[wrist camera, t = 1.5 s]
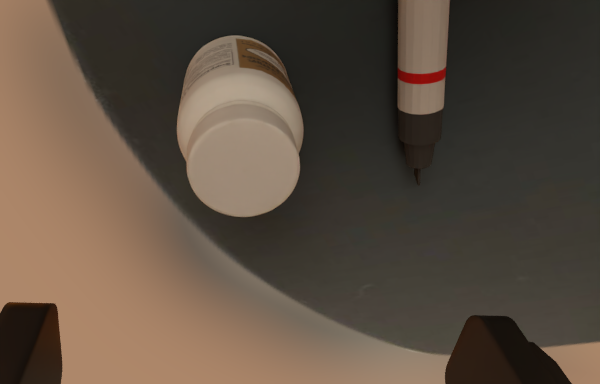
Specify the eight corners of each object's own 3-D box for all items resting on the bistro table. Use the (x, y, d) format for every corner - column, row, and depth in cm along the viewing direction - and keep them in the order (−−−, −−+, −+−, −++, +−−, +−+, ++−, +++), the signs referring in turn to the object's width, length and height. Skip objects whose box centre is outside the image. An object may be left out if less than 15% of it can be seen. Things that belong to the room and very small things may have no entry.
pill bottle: (306, 97, 23) (341, 185, 16) (225, 148, 23) (227, 252, 17) (250, 11, 20) (265, 72, 14) (163, 70, 21) (137, 155, 15)
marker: (392, -214, 17) (410, -224, 16) (448, -220, 17) (473, -231, 16) (392, 174, 25) (404, 196, 24) (430, 169, 25) (445, 189, 24)
